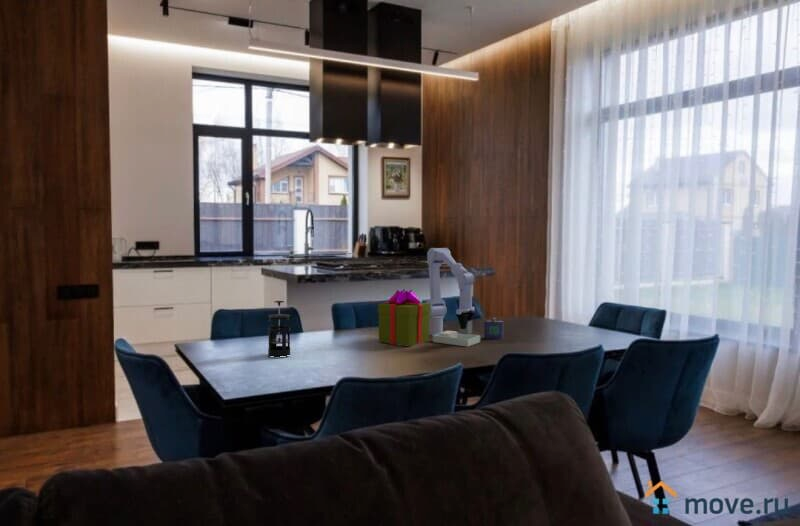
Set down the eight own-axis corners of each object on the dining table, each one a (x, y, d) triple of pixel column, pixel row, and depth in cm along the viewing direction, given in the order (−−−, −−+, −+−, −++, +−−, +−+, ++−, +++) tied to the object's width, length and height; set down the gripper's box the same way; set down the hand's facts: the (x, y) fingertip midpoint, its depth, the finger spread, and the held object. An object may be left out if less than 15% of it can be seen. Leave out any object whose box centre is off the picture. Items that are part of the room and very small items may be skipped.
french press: (295, 356, 238) (295, 301, 237) (274, 359, 233) (274, 303, 231) (282, 351, 248) (282, 298, 246) (262, 354, 242) (261, 300, 241)
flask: (502, 338, 281) (503, 317, 281) (503, 340, 278) (504, 318, 278) (483, 338, 282) (484, 317, 281) (484, 339, 279) (484, 317, 278)
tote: (432, 342, 270) (432, 335, 269) (446, 338, 281) (446, 331, 280) (467, 347, 259) (467, 339, 259) (480, 343, 270) (480, 335, 270)
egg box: (439, 341, 271) (439, 332, 270) (447, 338, 277) (447, 330, 277) (448, 342, 268) (448, 334, 268) (456, 339, 274) (457, 331, 274)
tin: (458, 333, 266) (459, 320, 266) (463, 332, 270) (463, 319, 270) (467, 334, 264) (467, 321, 264) (472, 333, 268) (472, 319, 267)
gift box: (393, 336, 285) (393, 286, 283) (432, 340, 276) (433, 288, 274) (374, 344, 266) (374, 290, 265) (415, 348, 257) (416, 292, 256)
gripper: (466, 301, 258) (465, 331, 259) (480, 298, 270) (480, 326, 271) (452, 299, 262) (451, 329, 263) (467, 297, 274) (466, 325, 275)
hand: (465, 328), depth 267 cm, fingers closed on tin, 4 cm apart
